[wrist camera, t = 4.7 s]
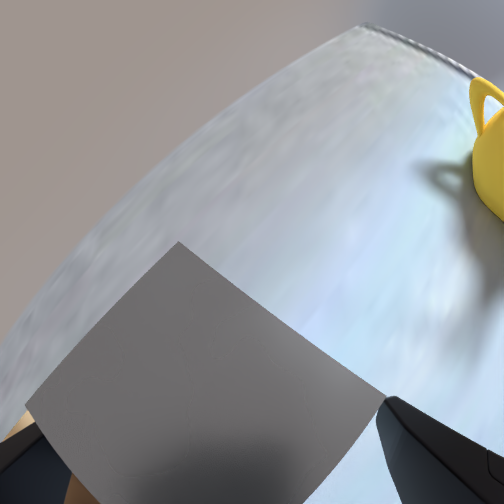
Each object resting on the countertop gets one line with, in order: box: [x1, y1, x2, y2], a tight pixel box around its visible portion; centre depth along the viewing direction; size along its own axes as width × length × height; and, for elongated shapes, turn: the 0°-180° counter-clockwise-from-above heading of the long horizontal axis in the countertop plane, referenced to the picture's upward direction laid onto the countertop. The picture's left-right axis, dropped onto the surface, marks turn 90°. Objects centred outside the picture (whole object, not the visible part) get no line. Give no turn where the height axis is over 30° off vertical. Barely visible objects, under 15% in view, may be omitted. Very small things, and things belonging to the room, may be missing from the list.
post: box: [25, 242, 386, 504], centre depth 9 cm, size 4×4×12 cm
